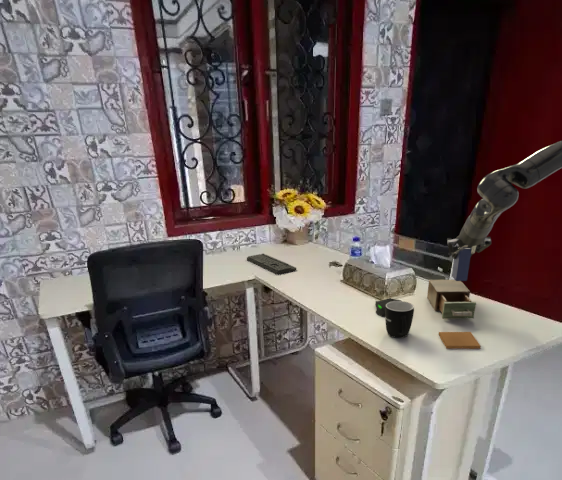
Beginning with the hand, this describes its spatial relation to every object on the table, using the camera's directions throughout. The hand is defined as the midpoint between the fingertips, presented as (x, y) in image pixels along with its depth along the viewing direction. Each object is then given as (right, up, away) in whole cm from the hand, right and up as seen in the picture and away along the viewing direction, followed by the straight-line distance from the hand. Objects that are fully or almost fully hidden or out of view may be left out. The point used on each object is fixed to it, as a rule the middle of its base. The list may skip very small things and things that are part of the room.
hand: (460, 256), depth 141 cm
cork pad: (-5, -29, -10) cm, 31 cm away
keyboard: (-67, +11, +79) cm, 104 cm away
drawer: (+1, -19, +7) cm, 21 cm away
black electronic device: (-20, -18, +15) cm, 31 cm away
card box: (0, -7, +1) cm, 7 cm away
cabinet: (+2, -15, +18) cm, 23 cm away
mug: (-22, -28, -4) cm, 36 cm away
